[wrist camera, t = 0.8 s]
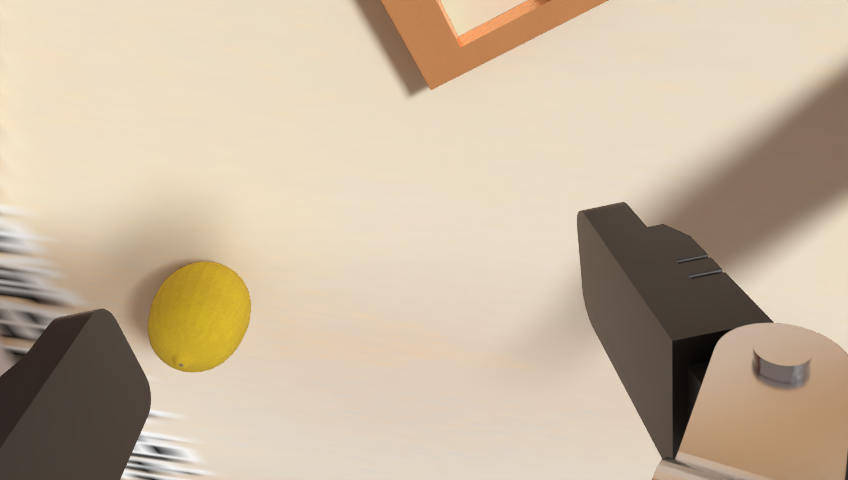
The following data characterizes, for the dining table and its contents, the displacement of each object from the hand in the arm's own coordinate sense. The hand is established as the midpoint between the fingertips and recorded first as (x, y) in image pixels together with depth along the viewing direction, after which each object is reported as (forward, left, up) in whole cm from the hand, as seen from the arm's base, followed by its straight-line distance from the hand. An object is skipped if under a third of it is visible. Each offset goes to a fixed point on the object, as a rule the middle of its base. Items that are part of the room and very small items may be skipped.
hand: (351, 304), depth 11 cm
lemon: (+11, -19, -24) cm, 32 cm away
